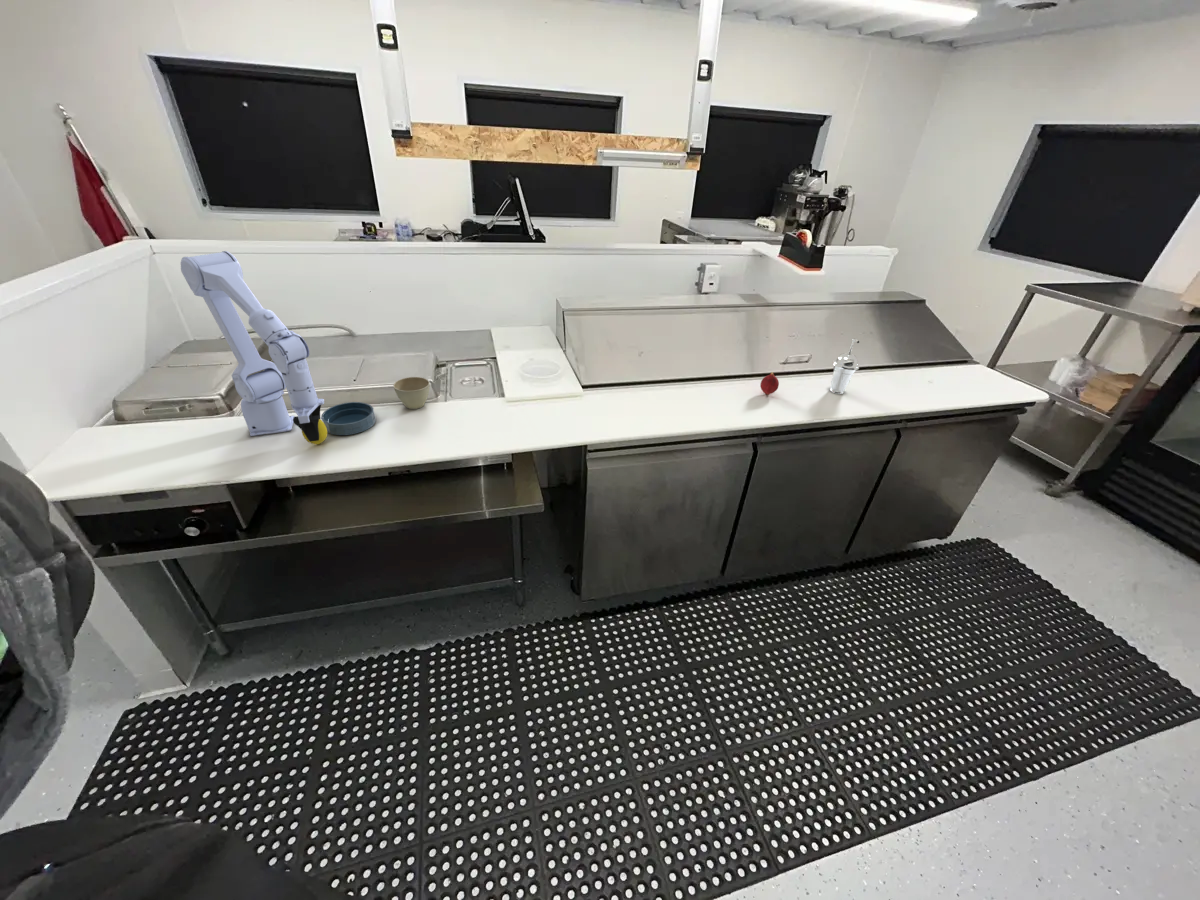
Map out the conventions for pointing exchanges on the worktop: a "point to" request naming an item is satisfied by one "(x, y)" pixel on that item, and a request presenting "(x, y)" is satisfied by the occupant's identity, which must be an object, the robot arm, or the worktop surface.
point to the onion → (769, 384)
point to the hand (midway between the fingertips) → (315, 434)
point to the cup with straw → (843, 370)
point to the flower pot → (412, 391)
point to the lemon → (322, 433)
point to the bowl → (349, 418)
